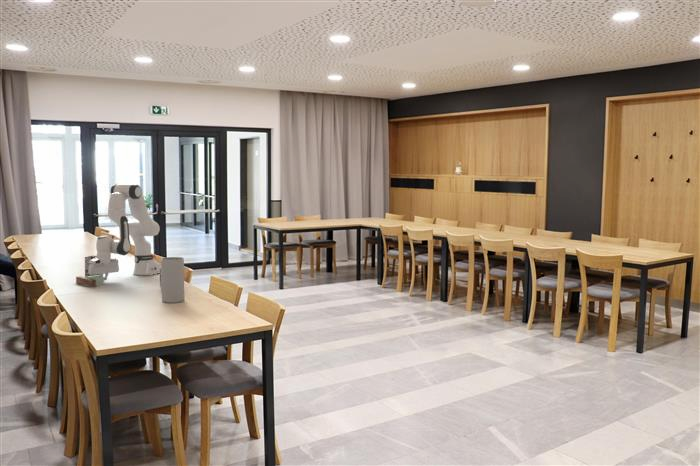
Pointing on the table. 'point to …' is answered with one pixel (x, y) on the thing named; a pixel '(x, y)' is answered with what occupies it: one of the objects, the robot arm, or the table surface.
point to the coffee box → (88, 265)
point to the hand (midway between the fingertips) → (104, 280)
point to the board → (86, 281)
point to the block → (97, 279)
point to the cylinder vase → (172, 279)
